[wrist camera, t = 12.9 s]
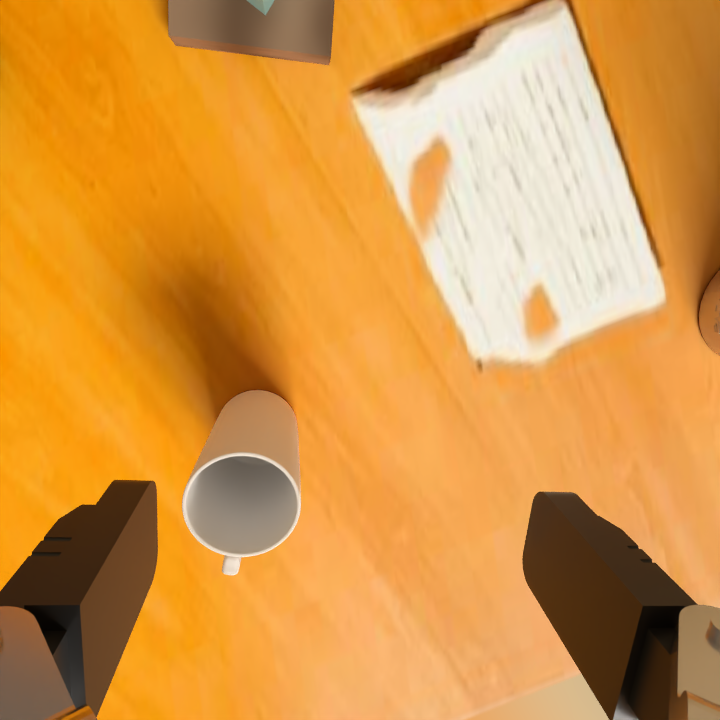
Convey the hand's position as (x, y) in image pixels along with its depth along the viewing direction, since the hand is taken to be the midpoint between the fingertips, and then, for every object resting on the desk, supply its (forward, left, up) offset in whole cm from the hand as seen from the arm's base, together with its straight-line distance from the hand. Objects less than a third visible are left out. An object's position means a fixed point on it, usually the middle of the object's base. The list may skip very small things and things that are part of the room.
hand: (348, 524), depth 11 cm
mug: (+4, +12, -30) cm, 33 cm away
